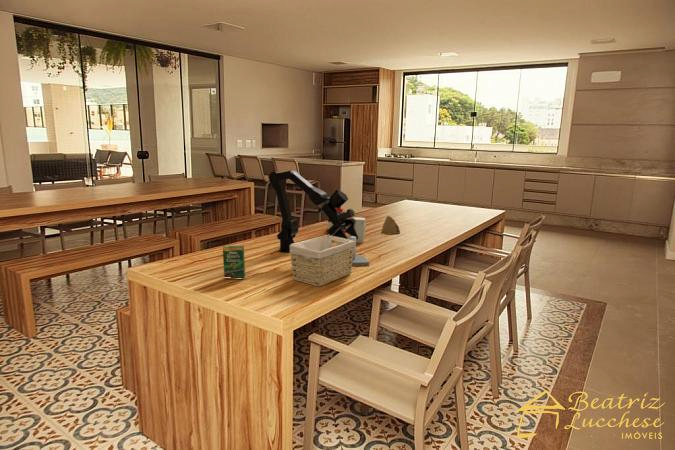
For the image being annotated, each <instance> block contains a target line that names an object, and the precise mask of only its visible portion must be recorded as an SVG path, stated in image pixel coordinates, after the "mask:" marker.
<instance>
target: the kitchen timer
mask: <svg viewBox="0 0 675 450" xmlns="http://www.w3.org/2000/svg"><path fill="white" fill-rule="evenodd" d="M336 209H337V211H338V212H342V213H345V212H346V211H345V210H344V209H343V208H342V206H341V207H340V208H336ZM327 222H328V221H327ZM331 226H333V224H332V223H331V222H328V223H327V227H326V231H327V232H328V229H329V228H330V227H331ZM344 233H345V234H348V233H347V232H345V230H344Z"/></svg>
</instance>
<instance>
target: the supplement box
mask: <svg viewBox="0 0 675 450" xmlns="http://www.w3.org/2000/svg"><path fill="white" fill-rule="evenodd" d="M352 218H354V219H355V220H356V222H355V223H356V224H355V230H356V233H357V236H358V239H357V240H356V243H360V244H363V243H364V241H365V238H366V236H365V235H366V219H367V218H366V217H355V216H354V217H352ZM349 236H351V235H349Z"/></svg>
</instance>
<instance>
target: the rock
mask: <svg viewBox="0 0 675 450" xmlns="http://www.w3.org/2000/svg"><path fill="white" fill-rule="evenodd" d="M380 232H381V234H400V233H401V230H400V227H399V225H398V224H397V222H396V221H395V219H394V218H393V217H391V216H389V215H387V216H386V218H385V220H384V222H383V225H382V227H381V231H380Z"/></svg>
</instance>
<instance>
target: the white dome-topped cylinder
mask: <svg viewBox="0 0 675 450" xmlns="http://www.w3.org/2000/svg"><path fill="white" fill-rule="evenodd" d="M346 236H347V238H348V239H349V240H353V241H354V251H353V259H355V255H357V253H356V252H357V249H356V248H357V247H356V246H357V242H356V237H355V236H350V235H346Z"/></svg>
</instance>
